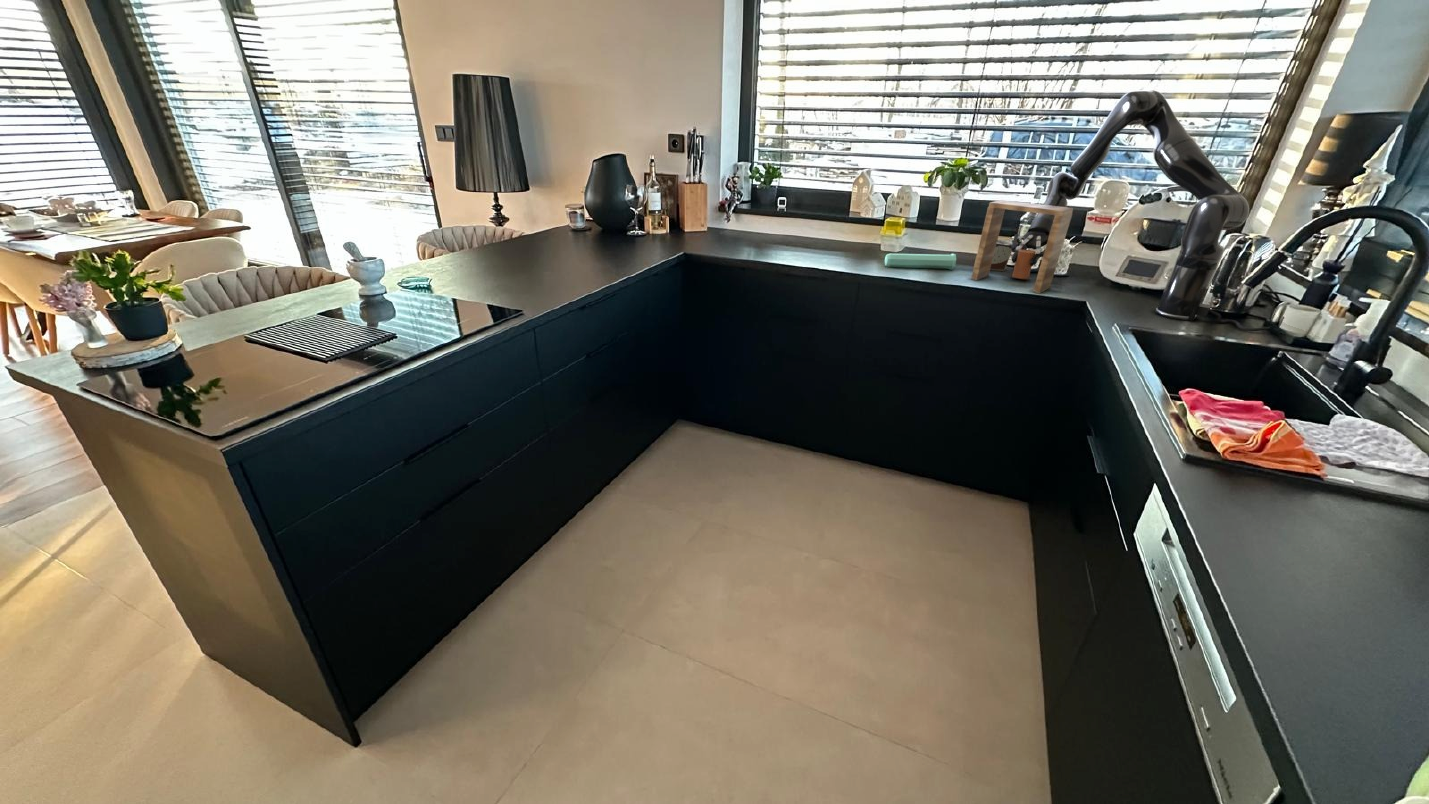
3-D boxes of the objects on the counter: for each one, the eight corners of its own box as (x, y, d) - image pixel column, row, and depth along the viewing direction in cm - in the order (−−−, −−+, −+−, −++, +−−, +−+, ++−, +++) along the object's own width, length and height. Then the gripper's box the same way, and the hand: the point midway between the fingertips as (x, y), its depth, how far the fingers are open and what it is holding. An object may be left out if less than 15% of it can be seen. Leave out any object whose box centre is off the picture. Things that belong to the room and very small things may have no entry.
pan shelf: (1049, 288, 186) (1074, 208, 174) (1039, 293, 179) (1063, 210, 168) (982, 274, 200) (1001, 199, 188) (970, 279, 193) (989, 202, 182)
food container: (1002, 266, 211) (1009, 239, 207) (1008, 270, 206) (1016, 243, 201) (969, 265, 212) (975, 238, 208) (974, 269, 207) (981, 241, 202)
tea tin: (1030, 277, 194) (1038, 251, 190) (1025, 279, 191) (1032, 253, 187) (1015, 274, 198) (1022, 248, 194) (1009, 276, 195) (1016, 250, 190)
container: (887, 250, 203) (957, 252, 202) (883, 253, 209) (951, 255, 208) (886, 266, 204) (955, 268, 202) (882, 269, 210) (950, 271, 208)
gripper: (1022, 213, 195) (999, 252, 193) (1067, 219, 185) (1043, 260, 184) (1023, 227, 200) (1002, 265, 198) (1067, 233, 191) (1044, 273, 189)
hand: (1022, 263), depth 191 cm, fingers closed on tea tin, 5 cm apart
